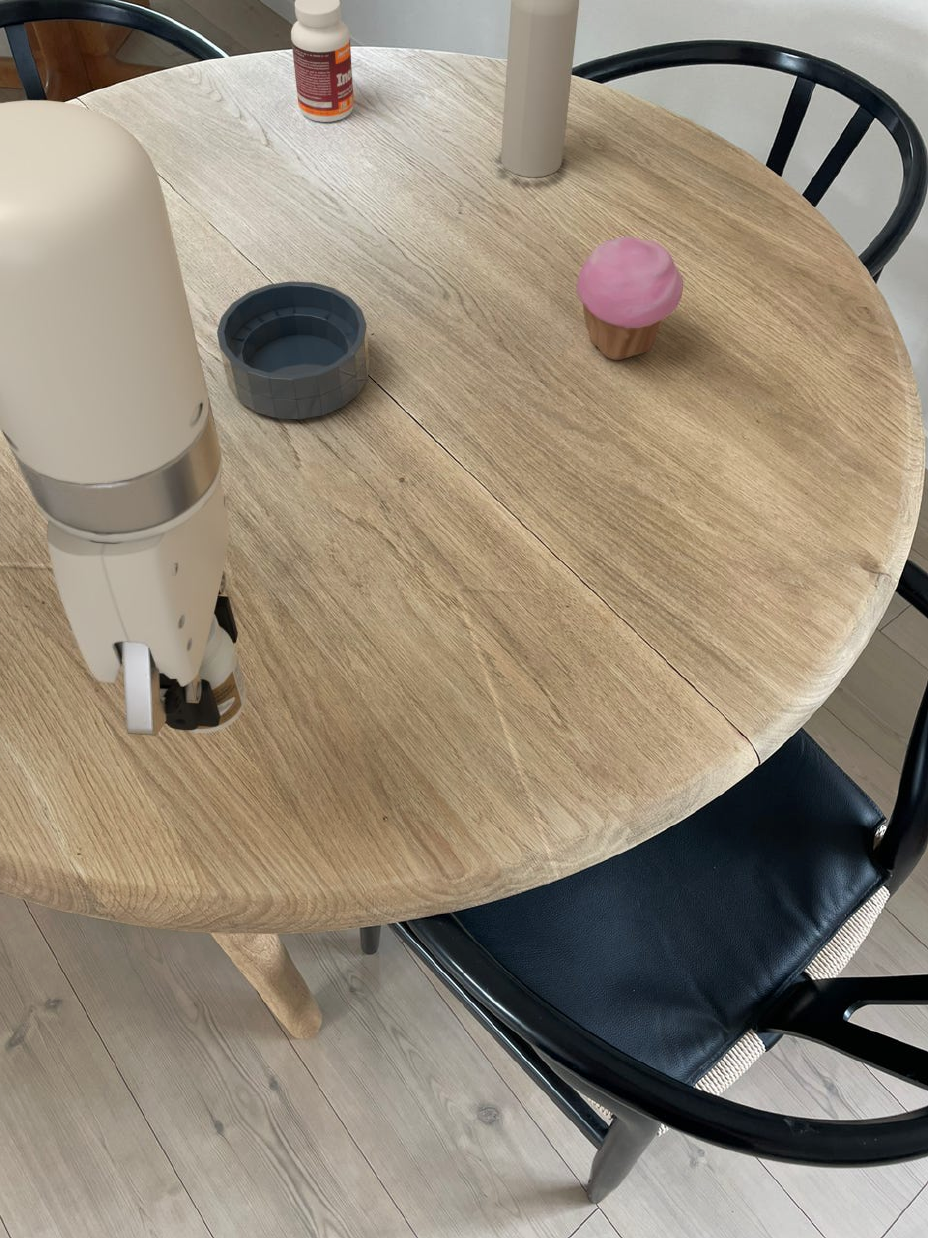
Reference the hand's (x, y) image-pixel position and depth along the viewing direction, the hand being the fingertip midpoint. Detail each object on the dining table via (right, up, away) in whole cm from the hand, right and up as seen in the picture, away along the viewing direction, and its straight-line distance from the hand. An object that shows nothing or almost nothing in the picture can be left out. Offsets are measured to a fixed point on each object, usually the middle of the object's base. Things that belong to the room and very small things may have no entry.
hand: (199, 677), depth 53 cm
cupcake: (+28, +28, +35) cm, 53 cm away
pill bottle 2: (-1, +60, +56) cm, 82 cm away
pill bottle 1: (0, -2, +2) cm, 3 cm away
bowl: (0, +25, +31) cm, 40 cm away
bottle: (+22, +52, +51) cm, 76 cm away
